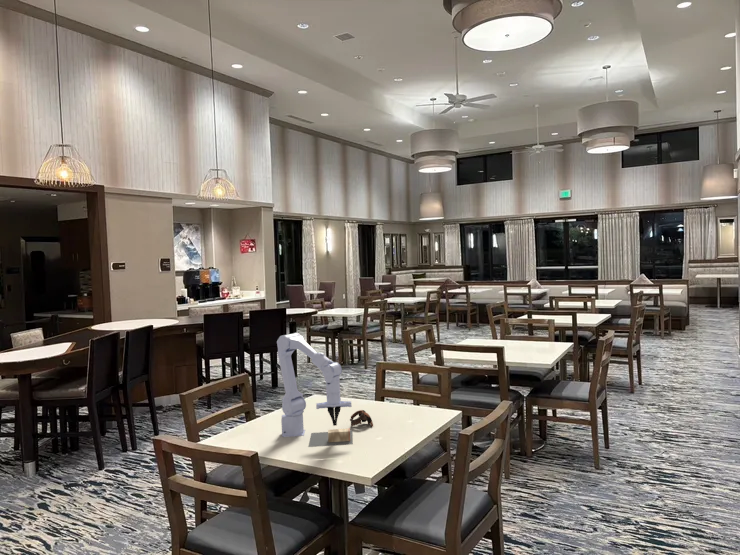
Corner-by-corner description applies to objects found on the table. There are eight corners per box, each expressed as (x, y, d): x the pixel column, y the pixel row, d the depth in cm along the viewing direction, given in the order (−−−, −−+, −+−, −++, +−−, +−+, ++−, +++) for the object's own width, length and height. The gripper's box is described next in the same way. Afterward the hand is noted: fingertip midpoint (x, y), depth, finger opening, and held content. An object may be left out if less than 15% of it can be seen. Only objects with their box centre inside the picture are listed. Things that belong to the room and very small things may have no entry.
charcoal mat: (308, 447, 217) (308, 446, 217) (311, 433, 235) (311, 432, 235) (352, 445, 217) (352, 444, 217) (352, 431, 235) (352, 430, 235)
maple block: (327, 432, 221) (349, 431, 221) (328, 429, 225) (349, 428, 225) (328, 442, 221) (350, 441, 221) (328, 439, 225) (350, 437, 225)
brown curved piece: (374, 430, 237) (365, 415, 235) (356, 439, 239) (346, 425, 237) (375, 415, 249) (366, 402, 247) (357, 424, 250) (348, 411, 249)
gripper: (315, 395, 218) (316, 428, 219) (350, 393, 219) (352, 426, 219) (316, 391, 225) (317, 423, 226) (350, 389, 226) (352, 421, 226)
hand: (335, 424), depth 223 cm, fingers closed
